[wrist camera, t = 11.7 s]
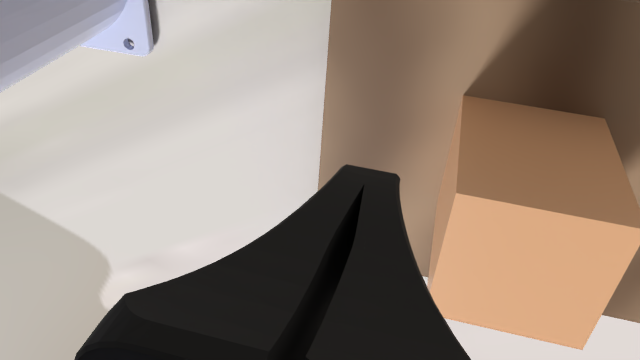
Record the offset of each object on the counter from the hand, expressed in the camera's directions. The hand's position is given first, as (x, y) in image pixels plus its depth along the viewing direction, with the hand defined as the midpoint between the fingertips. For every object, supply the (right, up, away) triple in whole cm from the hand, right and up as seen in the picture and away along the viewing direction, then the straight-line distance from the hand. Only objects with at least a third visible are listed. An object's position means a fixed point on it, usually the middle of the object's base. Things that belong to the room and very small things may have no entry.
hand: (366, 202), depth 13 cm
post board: (+7, +2, +10) cm, 12 cm away
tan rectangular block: (+7, +1, +9) cm, 11 cm away
